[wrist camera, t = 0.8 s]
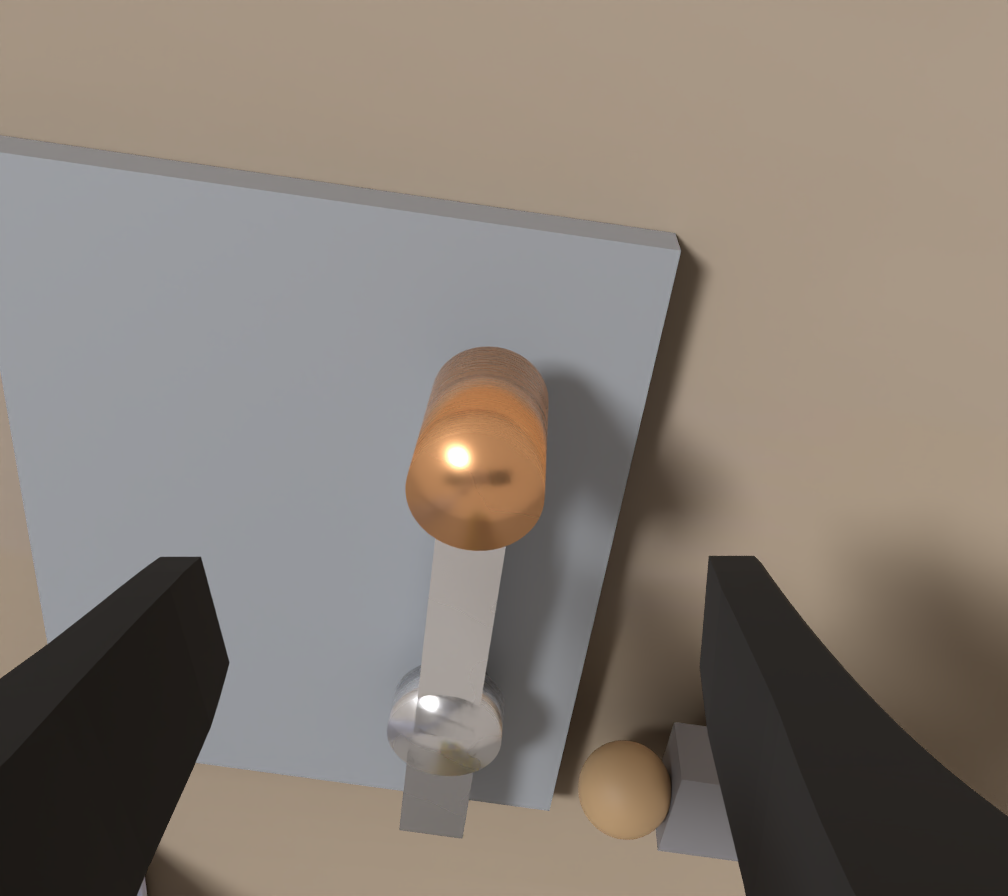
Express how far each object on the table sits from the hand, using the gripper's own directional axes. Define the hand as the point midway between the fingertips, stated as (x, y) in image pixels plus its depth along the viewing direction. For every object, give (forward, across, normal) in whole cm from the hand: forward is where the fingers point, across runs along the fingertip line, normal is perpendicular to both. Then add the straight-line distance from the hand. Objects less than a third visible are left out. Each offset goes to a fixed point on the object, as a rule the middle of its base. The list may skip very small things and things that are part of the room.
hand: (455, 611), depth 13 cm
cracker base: (+10, +2, +6) cm, 12 cm away
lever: (+8, +1, +6) cm, 10 cm away
